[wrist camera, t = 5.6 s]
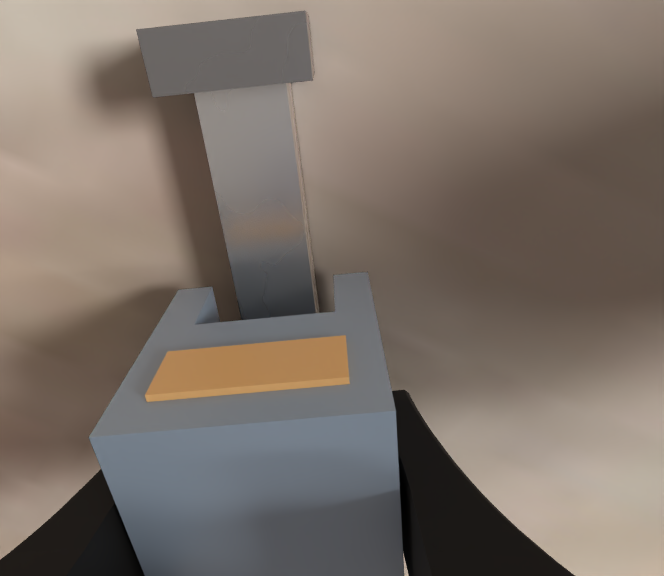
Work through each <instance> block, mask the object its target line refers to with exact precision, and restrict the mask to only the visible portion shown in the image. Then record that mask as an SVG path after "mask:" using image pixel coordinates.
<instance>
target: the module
mask: <svg viewBox="0 0 664 576" xmlns="http://www.w3.org/2000/svg"><path fill="white" fill-rule="evenodd" d="M333 278H334V300H335V312H325V313H314V314H303V315H292V316H282V317H271V318H260V319H249V320H239V321H228V322H220V319H219V314H218V310H217V305H216V301H215V296H214V292H213V288H212V287H203V288H192V289H182V290H178V291H177V293H176V295H175V296H174V298H173V300H172V301H171V303H170V305H169V306H168V308H167V310H166V311H165V313H164V314H163V316H162V318H161V319H160V321H159V323H158V324H157V326H156V328H155V329H154V331H153V333H152V334H151V336H150V337H149V339H148V341H147V342H146V344H145V346H144V347H143V349H142V351H141V352H140V354H139V356H138V357H137V359H136V360H135V362H134V364H133V365H132V367H131V369H130V370H129V372H128V374H127V375H126V377H125V379H124V380H123V382H122V383H121V385H120V387H119V388H118V390H117V392H116V393H115V395H114V397H113V398H112V400H111V402H110V403H109V405H108V406H107V408H106V410H105V411H104V413H103V415H102V416H101V418H100V420H99V421H98V423H97V425H96V426H95V428H94V429H93V431H92V433H91V434H90V436H89V440H90V442H91V445H92V447H93V449H94V452H95V454H96V457H97V459H98V462H99V464H100V467H101V469H102V472H103V474H104V477H105V479H106V481H107V484H108V486H109V489H110V491H111V494H112V496H113V499H114V501H115V504H116V506H117V508H118V511H119V513H120V516H121V518H122V521H123V523H124V526H125V528H126V531H127V533H128V536H129V538H130V540H131V543H132V545H133V548H134V550H135V553H136V555H137V558H138V560H139V563H140V565H141V567H142V570H143V572H144V575H145V576H404V561H403V542H402V522H401V502H400V483H399V463H398V443H397V424H396V409H395V404H394V399H393V394H392V389H391V384H390V379H389V374H388V370H387V365H386V360H385V355H384V350H383V345H382V340H381V335H380V330H379V325H378V320H377V315H376V310H375V305H374V300H373V295H372V291H371V286H370V281H369V276H368V272H360V273H350V274H339V275H333Z"/></svg>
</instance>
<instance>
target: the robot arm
mask: <svg viewBox="0 0 664 576" xmlns="http://www.w3.org/2000/svg"><path fill="white" fill-rule="evenodd" d="M392 394H393V399H394V404H395V409H396V424H397V443H398V463H399V483H400V502H401V522H402V542H403V553H404V557H405V561H406V565H407V569H408V574H409V576H575V575H573V574H572V573H571V572H569V571H568V570H567V569H566V568H564V567H563V566H562V565H560V564H559V563H558V562H556V561H555V560H554V559H553V558H552V557H551V556H549V555H548V554H547V553H546V552H545V551H543V550H542V549H541V548H540V547H539V546H538V545H536V544H535V543H534V542H533V541H532V540H531V539H529V538H528V537H527V536H526V535H525V534H523V533H522V532H521V531H520V530H519V529H518V528H517V527H516V526H514V525H513V524H512V523H511V522H510V521H509V520H508V519H507V518H506V517H505V516H504V515H503V514H502V513H501V512H500V511H499V510H498V509H497V508H496V507H495V506H494V505H493V504H492V503H491V502H490V501H489V500H488V499H487V498H486V497H485V496H484V495H483V494H482V493H481V492H480V491H479V490H478V489H477V487H476V486H475V485H474V484H473V483H472V482H471V481H470V480H469V478H468V477H467V476H466V475H465V474H464V473H463V471H462V470H461V469H460V468H459V467H458V465H457V464H456V463H455V462H454V461H453V459H452V458H451V457H450V456H449V454H448V453H447V452H446V450H445V449H444V448H443V446H442V445H441V444H440V442H439V441H438V440H437V438H436V437H435V436H434V434H433V433H432V431H431V430H430V428H429V427H428V425H427V424H426V422H425V421H424V419H423V418H422V416H421V414H420V413H419V411H418V410H417V408H416V406H415V404H414V402H413V401H412V399H411V397H410V395H409V393H408V392H407V391H405V390H398V391H392ZM0 576H145V575H144V572H143V570H142V567H141V565H140V563H139V560H138V558H137V555H136V553H135V550H134V548H133V545H132V543H131V540H130V538H129V536H128V533H127V531H126V528H125V526H124V523H123V521H122V518H121V516H120V513H119V511H118V508H117V506H116V504H115V501H114V499H113V496H112V494H111V491H110V489H109V486H108V484H107V481H106V479H105V477H104V474H103V472H102V469H101V470H100V471H99V472H98V473H97V474H96V475H95V476H94V477H93V478H92V479H91V480H90V481H89V482H88V483H87V484H86V485H85V486H84V487H83V488H82V489H80V490H79V491H78V492H77V493H76V494H75V495H74V496H73V497H72V498H71V499H70V500H69V501H68V502H67V503H66V504H65V505H64V506H63V507H62V508H61V509H60V510H59V511H58V512H57V513H56V514H54V515H53V516H52V517H51V518H50V519H49V520H48V521H47V522H45V523H44V524H43V525H42V526H41V527H40V528H39V529H37V530H36V531H35V532H34V533H33V534H32V535H30V536H29V537H28V538H27V539H26V540H24V541H23V542H22V543H21V544H20V545H18V546H17V547H16V548H15V549H14V550H12V551H11V552H10V553H9V554H7V555H6V556H5V557H3V558H2V559H1V560H0Z"/></svg>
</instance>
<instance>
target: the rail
mask: <svg viewBox="0 0 664 576" xmlns="http://www.w3.org/2000/svg"><path fill="white" fill-rule="evenodd" d="M136 31H137V35H138V40H139V44H140V48H141V52H142V56H143V60H144V64H145V68H146V72H147V76H148V80H149V84H150V88H151V92H152V96H153V97H162V96H171V95H181V94H190V93H194V96H195V101H196V105H197V110H198V115H199V120H200V124H201V129H202V134H203V139H204V143H205V148H206V153H207V158H208V162H209V167H210V172H211V177H212V181H213V186H214V191H215V196H216V200H217V205H218V210H219V215H220V219H221V224H222V229H223V234H224V238H225V243H226V248H227V253H228V257H229V262H230V267H231V272H232V276H233V281H234V286H235V291H236V295H237V300H238V305H239V310H240V314H241V319H242V320H249V319H260V318H271V317H282V316H292V315H303V314H314V313H320V311H319V303H318V295H317V288H316V280H315V272H314V264H313V256H312V248H311V240H310V232H309V224H308V216H307V208H306V200H305V192H304V184H303V176H302V168H301V160H300V152H299V144H298V136H297V128H296V120H295V112H294V104H293V96H292V88H291V83H293V82H302V81H312V80H313V78H314V73H315V71H314V62H313V52H312V42H311V33H310V23H309V16H308V14H307V12H306V11H299V12H290V13H281V14H272V15H263V16H254V17H245V18H236V19H227V20H218V21H209V22H200V23H191V24H182V25H173V26H164V27H155V28H146V29H137V30H136Z"/></svg>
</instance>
